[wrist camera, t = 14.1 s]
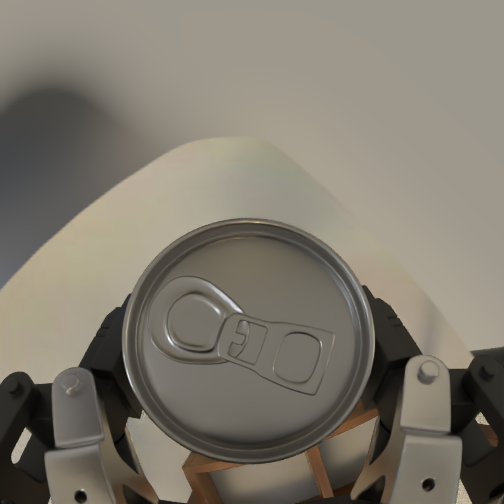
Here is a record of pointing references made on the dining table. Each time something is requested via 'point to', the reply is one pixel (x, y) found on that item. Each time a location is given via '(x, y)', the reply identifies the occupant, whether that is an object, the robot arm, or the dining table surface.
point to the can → (248, 341)
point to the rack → (208, 500)
